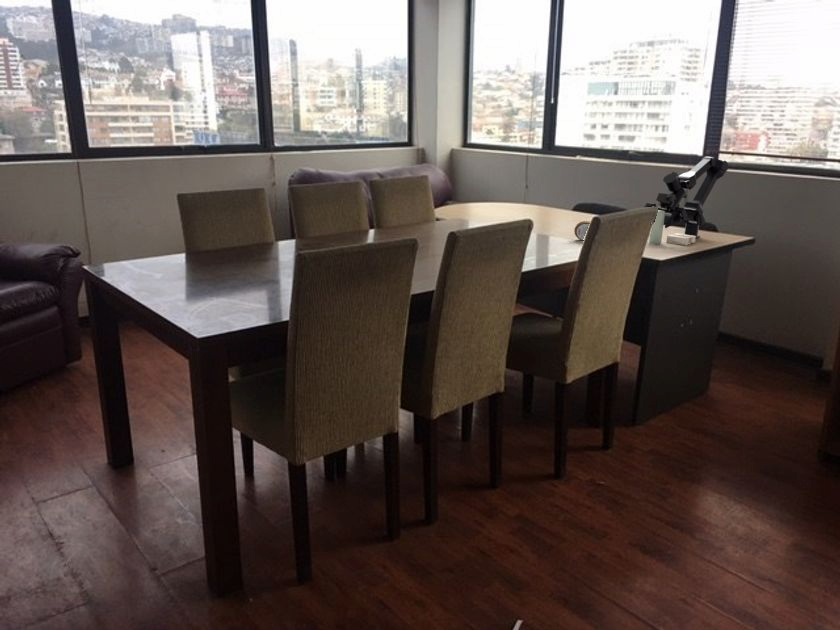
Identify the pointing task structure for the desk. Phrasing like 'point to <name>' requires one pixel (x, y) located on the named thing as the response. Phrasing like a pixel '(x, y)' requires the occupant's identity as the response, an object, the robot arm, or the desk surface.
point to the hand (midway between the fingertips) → (655, 225)
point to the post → (657, 228)
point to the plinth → (680, 239)
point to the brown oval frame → (581, 229)
